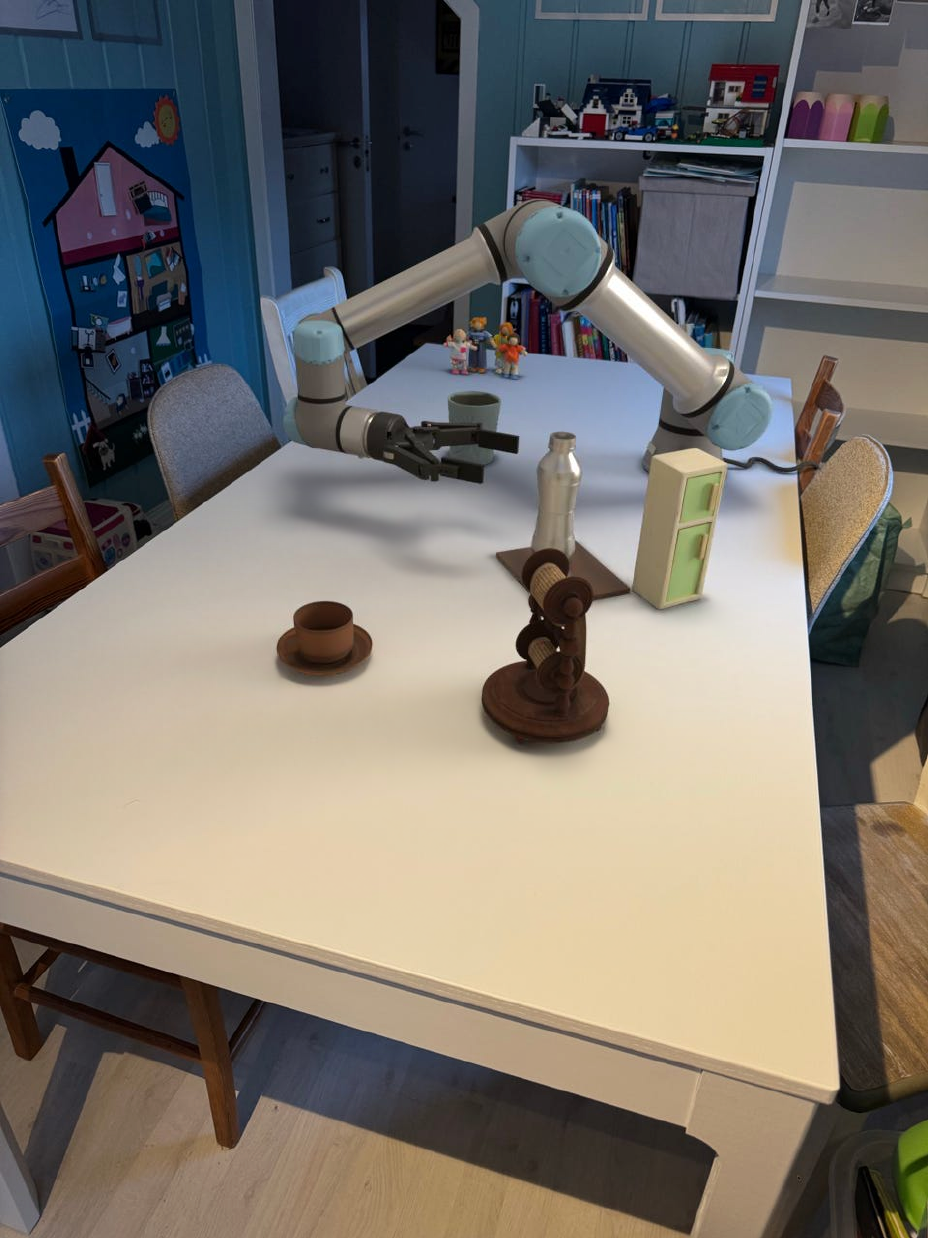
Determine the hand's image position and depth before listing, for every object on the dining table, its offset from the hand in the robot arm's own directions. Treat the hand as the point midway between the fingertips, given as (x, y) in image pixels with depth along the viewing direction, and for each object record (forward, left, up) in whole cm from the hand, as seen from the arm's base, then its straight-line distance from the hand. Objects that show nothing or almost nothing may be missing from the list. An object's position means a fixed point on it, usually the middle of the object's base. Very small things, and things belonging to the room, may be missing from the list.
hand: (501, 459), depth 131 cm
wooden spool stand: (+12, +40, -16) cm, 44 cm away
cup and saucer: (+33, +20, -16) cm, 41 cm away
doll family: (-39, -94, -16) cm, 103 cm away
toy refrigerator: (-18, +21, -16) cm, 32 cm away
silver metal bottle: (-6, +7, -15) cm, 18 cm away
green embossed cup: (-12, -39, -16) cm, 44 cm away
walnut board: (-6, +10, -16) cm, 19 cm away
